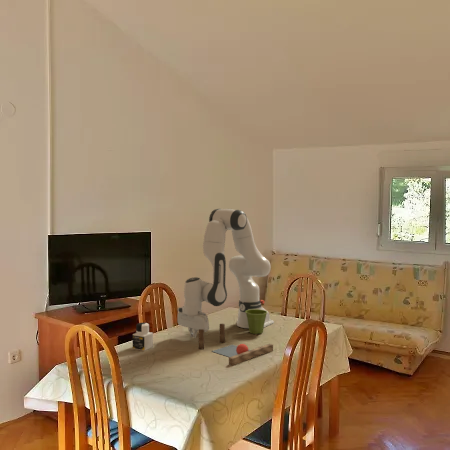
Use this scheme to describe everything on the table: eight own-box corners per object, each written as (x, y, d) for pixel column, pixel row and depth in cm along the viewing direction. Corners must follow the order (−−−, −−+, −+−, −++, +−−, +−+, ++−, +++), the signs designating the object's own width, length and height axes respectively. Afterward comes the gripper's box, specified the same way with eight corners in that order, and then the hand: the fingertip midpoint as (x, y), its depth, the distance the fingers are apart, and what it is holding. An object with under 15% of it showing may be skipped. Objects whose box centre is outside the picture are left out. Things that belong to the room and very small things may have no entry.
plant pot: (268, 335, 262) (268, 314, 261) (245, 335, 262) (245, 314, 261) (266, 329, 274) (266, 309, 273) (245, 329, 274) (245, 309, 273)
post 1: (201, 347, 243) (201, 328, 242) (205, 348, 241) (205, 329, 240) (197, 348, 241) (197, 330, 240) (201, 349, 239) (201, 331, 238)
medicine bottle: (132, 348, 241) (131, 324, 240) (141, 344, 247) (141, 320, 246) (144, 351, 237) (144, 326, 236) (153, 346, 244) (153, 322, 243)
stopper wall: (269, 349, 238) (269, 343, 238) (273, 350, 237) (273, 344, 237) (228, 364, 218) (228, 357, 218) (232, 365, 217) (232, 358, 217)
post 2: (222, 340, 253) (222, 323, 252) (225, 342, 251) (225, 324, 250) (218, 342, 251) (218, 324, 250) (222, 343, 249) (222, 325, 249)
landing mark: (232, 345, 246) (232, 344, 246) (253, 351, 236) (253, 350, 236) (211, 351, 236) (211, 351, 236) (233, 358, 226) (233, 358, 226)
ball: (239, 347, 234) (245, 339, 231) (247, 356, 231) (252, 349, 229) (231, 351, 230) (237, 343, 227) (239, 360, 227) (245, 353, 224)
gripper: (211, 312, 249) (212, 339, 249) (184, 305, 263) (184, 331, 264) (202, 314, 244) (202, 342, 245) (175, 307, 258) (175, 334, 259)
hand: (193, 336), depth 254 cm, fingers closed
